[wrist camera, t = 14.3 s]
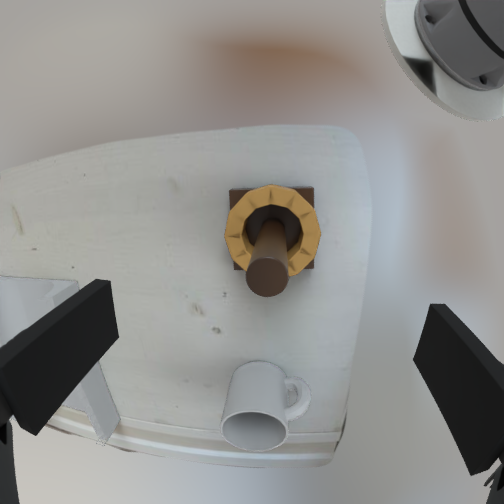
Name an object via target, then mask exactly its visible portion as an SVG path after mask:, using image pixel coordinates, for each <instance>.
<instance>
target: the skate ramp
mask: <svg viewBox="0 0 504 504" xmlns="http://www.w3.org/2000/svg"><path fill="white" fill-rule="evenodd" d="M78 291H79V288H78V283H77V281H68V280H50V279H33V278H18V277H4V276H0V347H2V346H3V345H4V344H7V342H8V341H9V340H11V339H13V337H14V336H16V335H17V334H18V333H20V332H21V331H22V330H24V329H27V328H28V327H30V326H31V325H32V324H34V323H35V322H36V321H38V320H39V319H40V318H42V317H43V316H44V315H46V314H47V313H48V312H50V311H51V310H53V309H54V308H55V307H57V306H58V305H59V304H61V303H62V302H64V301H65V300H66V299H68V298H69V297H71V296H72V295H74V294H75V293H76V292H78ZM61 405H64V406H67V407H70V408H74V409H77V410H80V411H84V412H86V414H87V416H88V418H89V420H90V422H91V424H92V426H93V428H94V430H95V432H96V434H97V436H98V438H99V439H102V440H106V442H107V441H108V440H109V438H110V436H111V435H112V433H113V431H114V429H115V428H116V426H117V424H118V423H119V421H120V417H119V415H118V412H117V410H116V407H115V405H114V402H113V400H112V397H111V395H110V392H109V389H108V387H107V384H106V381H105V379H104V376H103V373H102V370H101V367H100V364H99V361H98V362H97V363H96V364H95V365H94V366H93V368H92V369H91V370H90V371H89V372H88V373H87V375H86V376H85V377H84V378H83V379H82V381H81V382H80V383H79V384H78V385H77V386H76V388H75V389H74V390H73V391H72V392H71V394H70V395H69V396H68V397H67V398H66V400H65V401H64V402H63V403H62V404H61ZM12 419H13V420H15V421H16V419H15V417H14V415H13V416H12V417H11V420H12ZM99 439H98V440H99ZM97 442H98V441H97ZM99 442H100V441H99ZM104 442H105V441H104ZM102 443H103V442H102ZM105 444H106V443H105Z"/></svg>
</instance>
